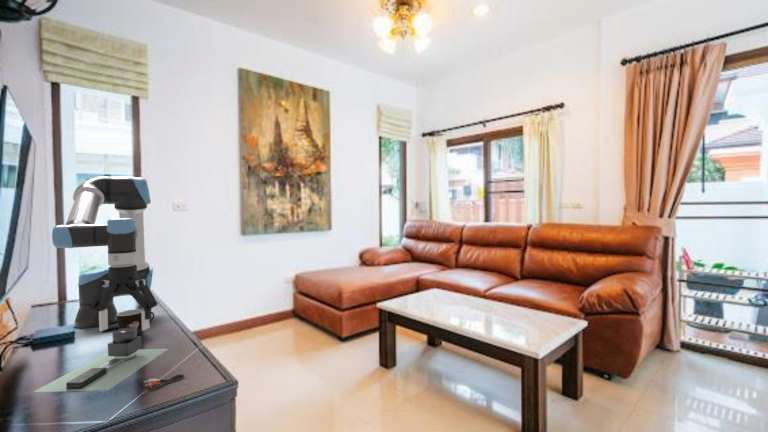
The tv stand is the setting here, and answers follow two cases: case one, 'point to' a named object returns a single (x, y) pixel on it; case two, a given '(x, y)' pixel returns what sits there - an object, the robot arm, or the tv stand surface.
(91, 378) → the ratchet
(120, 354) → the dark grey door knob
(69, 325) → the tv stand surface
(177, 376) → the composite cable
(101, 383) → the tool mat
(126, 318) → the coffee mug
